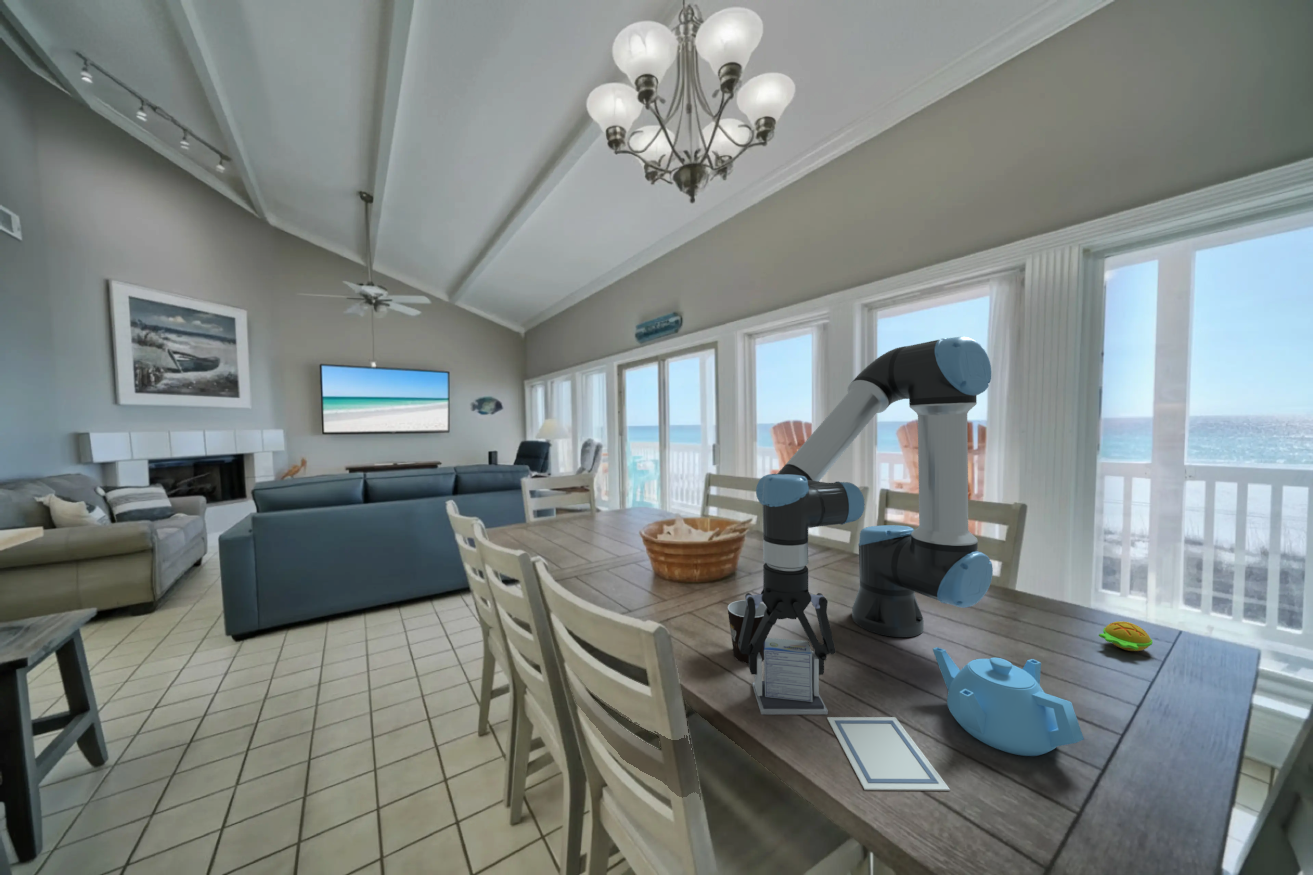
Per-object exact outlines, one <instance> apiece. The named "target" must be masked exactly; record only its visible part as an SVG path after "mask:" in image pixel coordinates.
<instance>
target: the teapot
mask: <svg viewBox="0 0 1313 875" xmlns="http://www.w3.org/2000/svg"><path fill="white" fill-rule="evenodd" d="M932 652H933V654H934V657H935V660H936V662H937V665H938V667H939V670H940V672H941V675H942V678H943V681H944V683H945V686H946V688H947V691H948V693H947V696H946V697H947V700H946V704H947V708H948V709H949V712H950V714H951V715H952V716H953V718H954V720H955V721H956V722H957V723H958V724H959V725H960V726H961V728H962V729H963V730H965V732H967V733H968V734H969V735H971V736H972V737H973V738H975V739H977V740H978V741H980V742H982V743H983V744H985V745H987V746H989V747H991V748H994V749H996V750H998V751H1002V752H1005V753H1008V754H1012V755H1016V756H1017V755H1018V756H1022V757H1023V756H1024V757H1037V756H1042V755H1044V754H1047V753H1049V752H1051V751H1053V750H1055V749H1056V748H1057V747H1060V746H1061V747H1062V746H1065V745H1066V746H1067V745H1071V744H1072V745H1073V744H1077V743H1079V742H1081V741H1084V740H1085V738H1084V735H1083V732H1082V730H1081V726H1080V723H1079V721H1078V717H1077V715H1076V713H1075V709H1074V706H1073V703H1072V701H1070V700H1066V699H1063V698H1062V697H1061V698H1060V697H1057V696H1055V695H1053V694H1048V693H1046V692H1045V690H1043V688H1042V687H1041V685H1040V683H1041V669H1042V667H1041V666H1042V662H1040V661H1038V660H1037V659H1034V658H1030V659H1028V660H1026V662H1025V663H1024V665H1023V667H1022V668H1021V667H1018V666H1016V665H1013V663H1011V662H1010V661H1009V660H1007V659H1004V658H1000V657H991V658H976V659H973V660H970V661H969V662H968V663H966V664H965V665H964V666H963V667H962V668H961V669H960V668H959V667H958V665H957V664H956V663H955V662H954V660H953V659H952V657H951V656H950V655H949V653H947V650H946V649H944V648H940V647H939V646H938V647H937V646H936V647H934V648H932Z"/></svg>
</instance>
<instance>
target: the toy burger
mask: <svg viewBox="0 0 1313 875" xmlns="http://www.w3.org/2000/svg"><path fill="white" fill-rule="evenodd" d="M1098 636H1099V637H1100V638H1102V639H1104V640H1105V642H1107V643H1111V644H1113V645H1114V646H1116V648H1117V647H1118V648H1119V649H1122V650H1125V651H1128V652H1129V651H1130V652H1139V651H1140V652H1141V651H1144V650H1146V649H1148V648H1149V647H1150V646H1152V644H1153V639H1152V638H1151V637H1150V635H1149V633H1147V632H1146V631H1145V629H1144V628H1142V627H1141V626H1139V625H1137V624H1134V623H1133V622H1129V621H1122V620H1121V621H1120V620H1119V621H1113V622H1110V623H1109V624H1107V625H1106V626H1105V627H1104V628H1103V630H1102V633H1099V634H1098Z"/></svg>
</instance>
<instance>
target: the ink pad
mask: <svg viewBox="0 0 1313 875" xmlns="http://www.w3.org/2000/svg"><path fill="white" fill-rule="evenodd" d="M752 688H753V692H754V696H755V698H756V701H757V706H758V708H759V711H760V715H828V714H829V711H828V708H827V706H826V705H825V703H824V701H823V699H822V696H820V694H819V696H814V695H813V693H812V700H813V702H807V701H798V700H789V699H779V698H770V697H765V680H762V696H758V695H757V692H756V689H755V681H754V682H752Z"/></svg>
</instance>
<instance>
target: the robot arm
mask: <svg viewBox="0 0 1313 875" xmlns="http://www.w3.org/2000/svg"><path fill="white" fill-rule="evenodd" d="M991 380H992V365H991V361H990V358H989V356H988V354H987V352H986V350H985V349H984V348H983V346H982V345H981V344H980V343H979V342H978V341H977V340H975V339H973V338H970V337H967V336H956V337H946V338H940V339H935V340H930V341H926V342H925V341H924V342H921V343H916V344H911V345H906V346H901V347H895V348H893V349H891V350H888V351H887V352H885V353H884V354H881V355H880V356H878V357H877V358H876V359H875V360H873V361H872V362H871V363H870V364H868V365H867V366H866V367H865V368H864V369H863V370H861V371H860V373H858V374H857V376H856V377H855V378H854V379H853V380H852V381H851V383H850V384H849V385H848V387H847V394H846V395H845V396H844V397H843V398H842V400H841V401H840V402H839V403H838V404H837V405H836V406H835V407H834V408H833V410H831V412H830V413H829V414H828V415H827V416H826V418H825V419H824V420H823V421H822V422H821V423H820V424H819V426H817V428H816V429H815V430H814V431H813V432H812V433H811V435H810V436H809V437H808V438H807V440H805V442H804V443H803V444H802V445H801V446H800V448H798V450H797V451H796V452H795V453H794V454H793V456H792V457H791V458H790V459H789V460H788V461H787V462H786V464H784V466H783V467H782V468H781V469H780V470H779V471H778V472H777V473H770V474H766V475H764V476H762V477H760V479H759V481H758V482H757V484H756V489H755V494H756V497H757V500H758V502H759V504H761V505H762V524H763V525H762V532H763V534H762V536H763V541H762V542H763V543H762V545H763V546H762V548H763V549H762V552H763V553H762V555H763V556H762V560H763V562H764V564H763V566H762V567H763V568H762V569H763V570H762V571H763V574H762V575H763V576H762V579H763V580H762V581H763V583H762V584H763V585H762V586H763V588H762V590H761V592H760V593H758V594H751V593H750V592H747V593H746V594H745V596H744V598H745V599H744V600H746V610H745V615H744V619H743V624H742V628H741V632H740V637H739V641H738V646H739V649H740V652H741V653H742V654H747V655H749V664H748V670H749V672H750V674H751V675H754V682H755V689H756V692H757V695H758V696H762V681H763V661H762V658H761V655H760V653H759V651H760V650H761V648H762V646H763V644H764V642H765V640H766V638H768V636H769V634H770V631H771V630H772V628H773V626H774V625H775V624H776V623H777V621H778V620H786V619H788V620H798V622H799V623H800V625H801V627H802V629H803V631H804V632H805V634H806V637H807V639H808V641H809V643H810V644H811V646H812V648H813V650H811V653H812V693H813V695H814V696H819V695H820V694H819V693H820V687H819V686H820V680H819V679H820V676H823V675H824V673H825V661H826V660H827V656H828V655H835V654H836V652H837V650H836V646H835V642H834V638H833V634H832V630H831V624H830V621H829V618H828V614H827V611H828V600H827V598H826V597H825V595H823V594H822V593H820V592H818V593H817V594H812V593H810V592H809V567H807V566H808V564H809V529H810V528H818V527H825V526H835V525H840V526H842V525H845V524H849V523H852V522H856V521H858V520H859V519H860V518H861V517H862V515H863V514H864V512H865V498H864V495H863V492H862V490H861V489H860V488H859V487H858V486H857V485H855V484H854V483H852V482H848V481H846V482H845V481H843V482H842V481H834V482H824V481H821V480H822V479H823V477H824V476H825V475H826V474H827V472H829V470H830V469H831V468H832V467H833V466H834V464H835V463H836V462H837V461H838V459H839V458H840V457H842V455H843V454H844V453H845V451H846V450H847V449H848V448H849V447H850V446H851V444H853V442H854V441H855V439H856V438H857V437H858V436H859V435H860V434H861V432H863V430H864V429H865V427H867V425H868V424H869V423H870V422H871V420H872V419H873V418H874V417H875V415H877V414H881V413H883V412H885V411H886V410H887V409H888V408H889V407H890V405H892V404H893V403H896V402H898V401H902V400H909V403H908V405H909V408H910V409H912V410H913V411H914V412H915V413H916V414H917V446H918V447H917V452H918V454H917V455H918V458H917V459H918V463H917V464H918V527H916V528H915V529H914V528H913V527H911V526H907V525H897V524H895V525H894V524H891V525H889V524H886V525H872V526H868V527H864V528H862V529H861V530H860V532H859V539H858V540H859V541H858V560H859V561H858V563H859V564H858V567H859V568H858V570H859V571H858V572H859V588H858V590H857V591H858V592H856V593H857V594H856V596H855V598H854V602H853V605H852V606H851V609H852V610H851V612H852V613H851V614H852V615H851V618H852V621H853V622H854V623H855V624H856V625H857V626H859V627H860V628H862V629H864V630H866V631H869V632H871V633H875V634H878V635H882V636H885V637H887V636H888V637H894V638H911V637H915V636H919V635H921V634H923V632H924V629H925V628H924V626H925V625H924V616H923V614H922V612H921V611H922V610H921V608H920V606H919V603H918V600H917V598H916V594H915V593H918V594H920V595H923V596H925V597H929V598H931V599H933V600H936V601H937V602H939V603H942V604H945V605H952V606H954V607H957V608H970V607H973V606H976V605H977V603H979V602H980V601H981V600H982V599H983V598H984V596H985V595H986V593H987V592H988V591H989V589H990V585H991V584H992V578H993V575H994V574H993V573H994V571H993V570H994V567H993V563H992V561H991V559H990V558H989V556H988V555H987V554H985V553H983V552H982V551H979V548H978V545H979V544H978V543H979V542H978V541H979V540H978V538H977V537H976V536H975V535H974V534H973V533H972V532H970V530H969V474H968V473H969V471H968V470H969V469H968V468H969V465H968V464H969V458H968V457H969V456H968V455H969V454H968V452H969V451H968V450H969V448H968V447H969V446H968V442H969V441H968V435H969V434H968V413H969V412H970V411H971V410H972V409H973V408H974V407H975V406H976V405H977V403H978V402H977V401H978V400H977V396H978V395H980V394H982V393H984V392H985V391H986V390H988V388H989V386H990V385H989V384H990V382H991ZM760 602H761V603H763V604H765V605H766V607H767V608H766V610H765V612H764V616H763V618H762V620H761V622H760V624H759V626H758V628H757V630H756V632H755V634H754V636H753V638H752V640H751V642H750V644H749V641H750V636H751V632H752V627H753V623H754V619H755V614H756V609H757V608H758V607H759V604H760ZM810 603H811V604H812V606H813V607H814V608H815V614H816V618H817V622H818V627H819V630H820V634H821V640H822V643H820V641H819V640H818V638H817V635H816V634H815V632H814V630H813V627H812V626H811V624H810V622H809V620H808V617H807V616H806V614H805V610H806V609H807V608H808V606H809V605H810Z"/></svg>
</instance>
